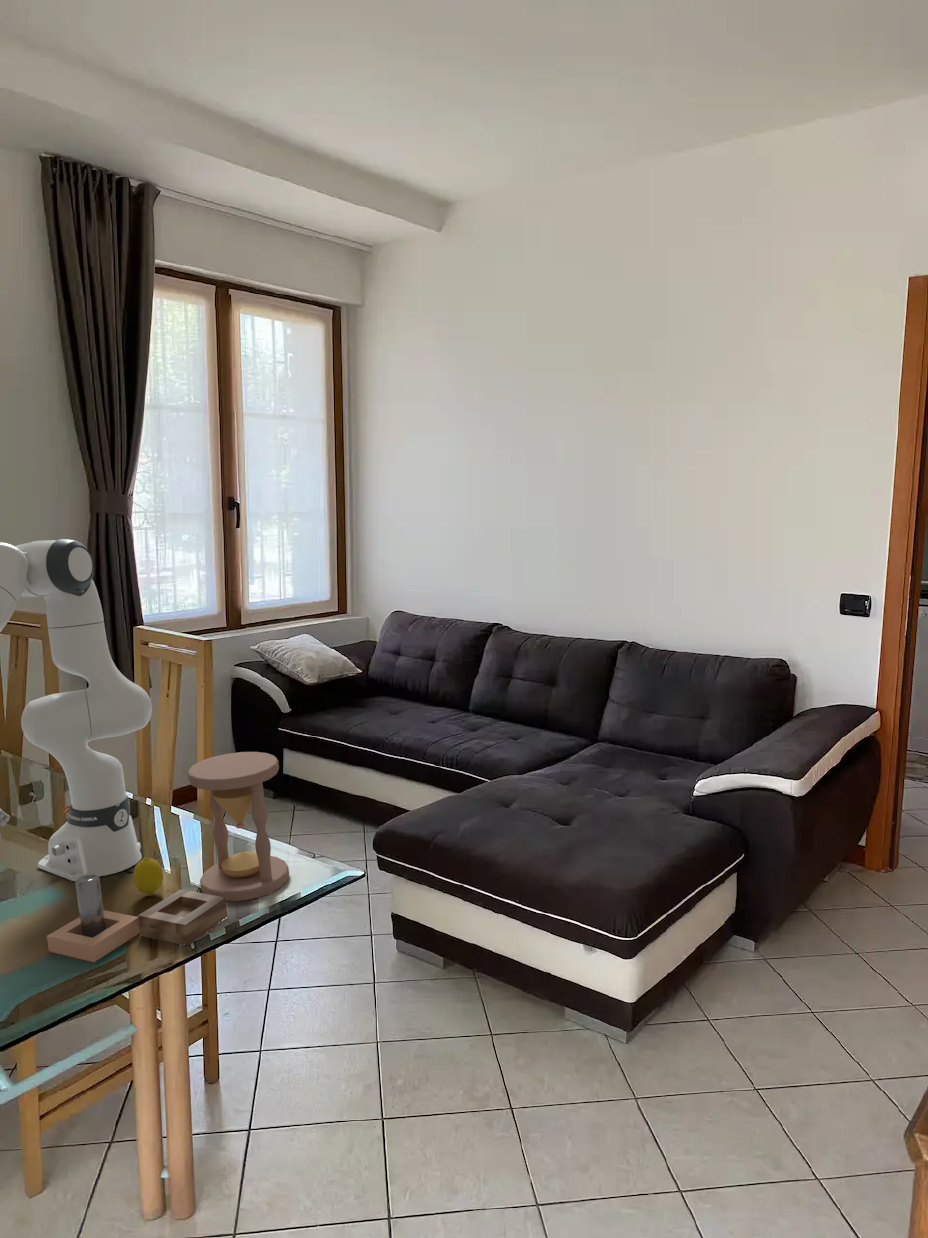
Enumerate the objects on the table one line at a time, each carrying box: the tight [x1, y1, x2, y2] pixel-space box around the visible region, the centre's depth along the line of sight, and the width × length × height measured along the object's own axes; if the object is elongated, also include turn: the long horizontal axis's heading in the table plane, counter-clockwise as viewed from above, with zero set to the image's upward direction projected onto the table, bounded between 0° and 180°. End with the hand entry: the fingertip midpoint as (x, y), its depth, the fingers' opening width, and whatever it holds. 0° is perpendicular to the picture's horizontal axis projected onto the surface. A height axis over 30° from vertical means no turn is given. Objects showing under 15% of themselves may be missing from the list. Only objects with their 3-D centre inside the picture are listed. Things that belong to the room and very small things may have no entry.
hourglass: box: [187, 751, 290, 903], centre depth 187 cm, size 18×18×25 cm
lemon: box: [133, 856, 164, 896], centre depth 185 cm, size 6×6×8 cm
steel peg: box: [74, 875, 106, 938], centre depth 167 cm, size 4×4×12 cm
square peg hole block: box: [137, 889, 229, 946], centre depth 172 cm, size 11×11×4 cm
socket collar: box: [46, 909, 140, 963], centre depth 168 cm, size 11×11×3 cm
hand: (3, 831), depth 161 cm, fingers open, 8 cm apart
